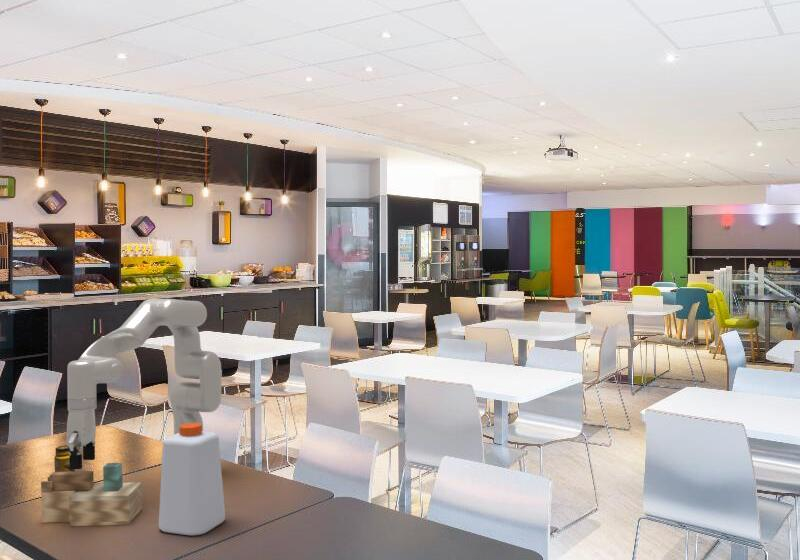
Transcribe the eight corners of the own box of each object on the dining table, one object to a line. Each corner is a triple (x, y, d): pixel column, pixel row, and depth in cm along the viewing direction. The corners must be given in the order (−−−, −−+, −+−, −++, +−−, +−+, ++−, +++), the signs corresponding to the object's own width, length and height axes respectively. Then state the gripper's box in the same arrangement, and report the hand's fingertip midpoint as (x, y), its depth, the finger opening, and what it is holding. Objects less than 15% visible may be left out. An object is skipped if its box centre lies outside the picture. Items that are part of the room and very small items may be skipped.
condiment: (78, 483, 242) (77, 447, 242) (49, 488, 238) (48, 451, 237) (74, 478, 249) (73, 443, 248) (46, 482, 244) (45, 446, 243)
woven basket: (141, 509, 217) (140, 471, 217) (128, 524, 205) (127, 483, 205) (54, 512, 216) (53, 473, 215) (36, 527, 204) (35, 485, 203)
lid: (141, 492, 217) (140, 458, 216) (128, 506, 205) (127, 470, 204) (85, 493, 216) (84, 459, 216) (69, 507, 204) (68, 471, 204)
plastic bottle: (231, 519, 209) (229, 420, 208) (200, 538, 194) (198, 433, 193) (185, 513, 213) (183, 417, 212) (152, 532, 199) (150, 429, 198)
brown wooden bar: (93, 486, 212) (93, 471, 211) (89, 489, 209) (89, 474, 208) (54, 487, 211) (54, 472, 211) (50, 490, 208) (49, 475, 208)
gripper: (80, 398, 217) (80, 456, 218) (55, 410, 200) (56, 472, 200) (106, 398, 218) (106, 456, 218) (84, 409, 201) (84, 472, 201)
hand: (82, 464), depth 209 cm, fingers open, 9 cm apart
